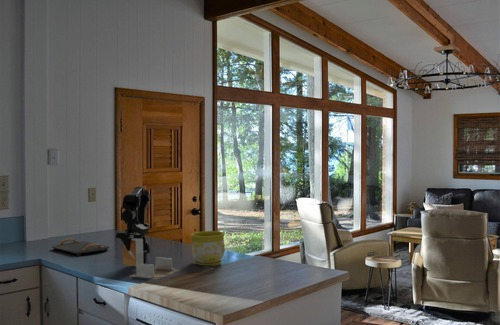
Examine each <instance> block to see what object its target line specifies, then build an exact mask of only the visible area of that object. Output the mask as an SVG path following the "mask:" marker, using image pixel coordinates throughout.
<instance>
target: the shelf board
mask: <svg viewBox="0 0 500 325" xmlns="http://www.w3.org/2000/svg"><path fill="white" fill-rule="evenodd" d="M174 269H175V270H172V271H169V270H160V269H156V266H154V277H153V278H148V279H151V280H159V279H161V278H163V277H166V276H169V275H171V274H174V273H177V272H179V271H181V269H176V268H174ZM135 275H137V273H136V272H135V273H132V274H130V275H129V277H133V278H134V276H135ZM141 278H142V277H140V279H141ZM142 279H143V278H142Z"/></svg>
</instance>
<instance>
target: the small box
mask: <svg viewBox="0 0 500 325" xmlns="http://www.w3.org/2000/svg"><path fill="white" fill-rule="evenodd" d="M131 238H132V239H131V240H130V251H127V249H126V247H125V245H124V243H123V242H122V256H123V257H122V259H123V261H122V262H123V263H122V265H123V266H129V267H130V266H131V267H132V266H133V267H136V263H142V264H143V239H139V238H133V237H131Z"/></svg>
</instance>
